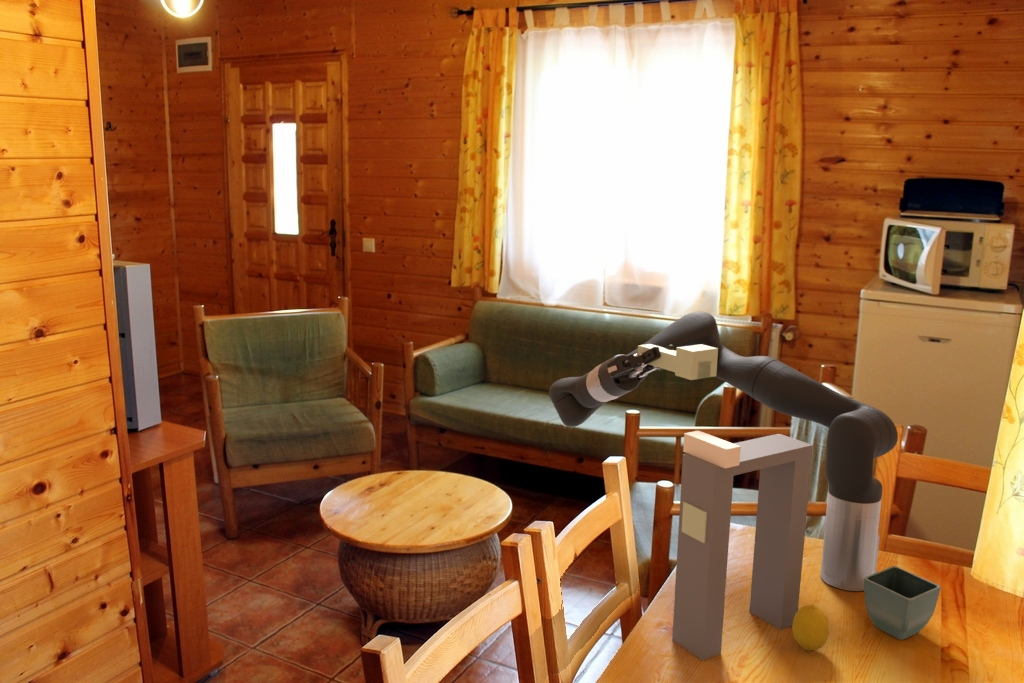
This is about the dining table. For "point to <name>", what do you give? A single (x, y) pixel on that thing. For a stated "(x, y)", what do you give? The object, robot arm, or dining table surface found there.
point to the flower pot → (899, 601)
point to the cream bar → (712, 449)
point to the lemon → (810, 627)
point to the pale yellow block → (686, 360)
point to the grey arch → (709, 539)
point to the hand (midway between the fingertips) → (665, 350)
